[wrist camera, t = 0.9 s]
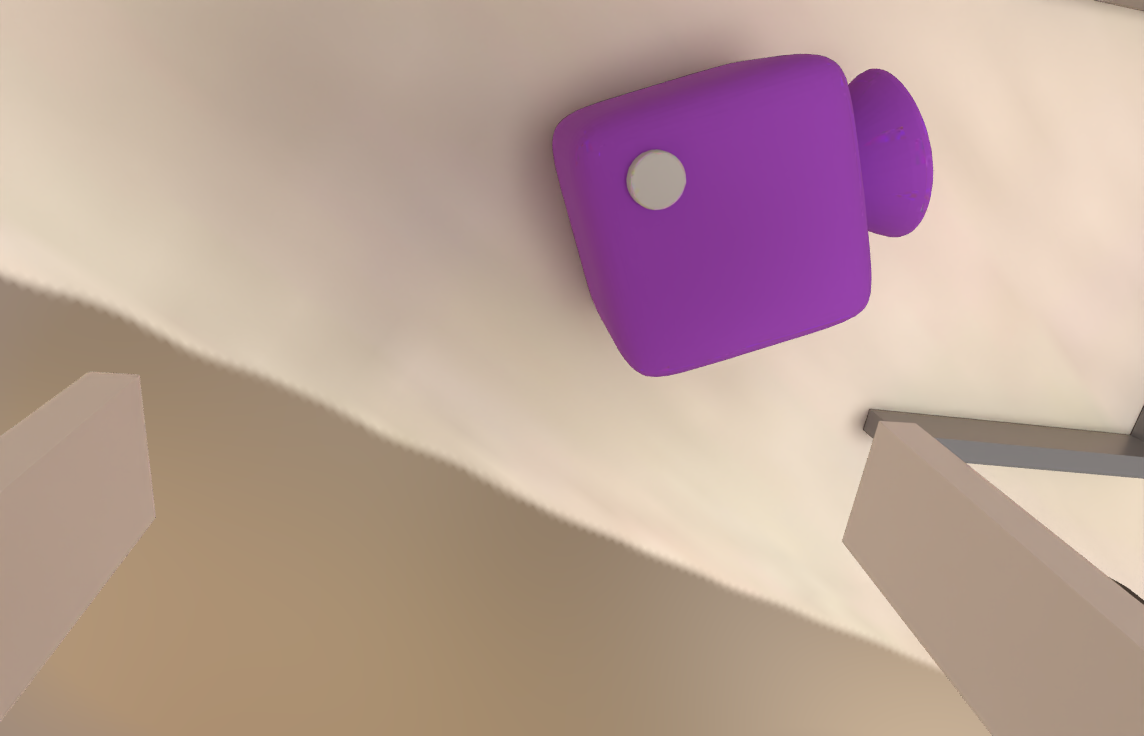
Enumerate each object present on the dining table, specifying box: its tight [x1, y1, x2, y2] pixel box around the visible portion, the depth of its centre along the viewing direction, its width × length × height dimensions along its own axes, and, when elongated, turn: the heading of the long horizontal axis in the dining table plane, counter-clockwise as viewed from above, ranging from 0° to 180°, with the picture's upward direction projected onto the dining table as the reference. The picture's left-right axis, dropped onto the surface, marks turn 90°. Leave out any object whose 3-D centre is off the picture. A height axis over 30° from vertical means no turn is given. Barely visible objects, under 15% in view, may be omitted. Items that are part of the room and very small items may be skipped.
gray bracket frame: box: [863, 0, 1144, 479], centre depth 33 cm, size 22×18×4 cm
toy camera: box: [552, 54, 933, 377], centre depth 27 cm, size 11×14×10 cm
